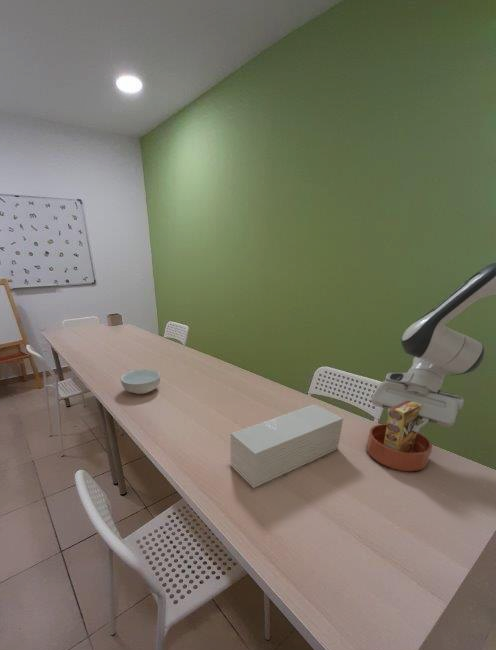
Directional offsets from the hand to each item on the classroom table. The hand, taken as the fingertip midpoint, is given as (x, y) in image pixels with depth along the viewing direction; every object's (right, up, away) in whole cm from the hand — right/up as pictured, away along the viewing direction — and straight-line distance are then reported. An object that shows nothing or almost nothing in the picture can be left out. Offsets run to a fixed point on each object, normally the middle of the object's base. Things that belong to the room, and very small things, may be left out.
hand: (401, 428), depth 83 cm
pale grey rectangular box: (-31, -9, +5) cm, 33 cm away
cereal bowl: (-83, +9, +51) cm, 98 cm away
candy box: (+1, -8, +3) cm, 9 cm away
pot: (+1, -8, +4) cm, 9 cm away
